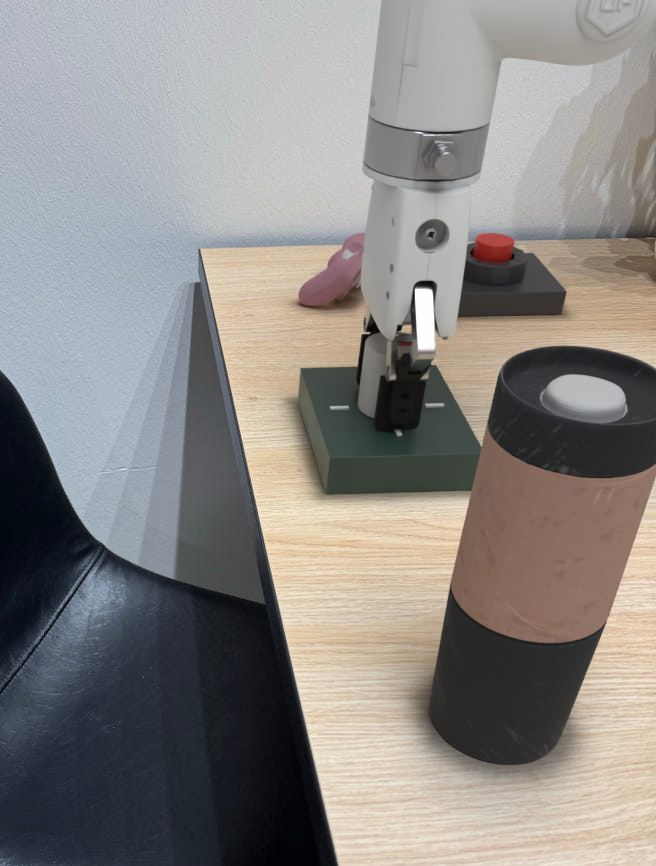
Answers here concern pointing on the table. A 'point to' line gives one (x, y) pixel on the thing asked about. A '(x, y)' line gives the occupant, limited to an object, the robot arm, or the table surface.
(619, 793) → the table surface
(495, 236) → the button
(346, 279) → the pink rounded piece
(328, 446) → the panel
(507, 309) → the button box
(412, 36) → the robot arm
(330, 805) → the table surface
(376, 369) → the dial
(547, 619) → the travel mug
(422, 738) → the table surface
